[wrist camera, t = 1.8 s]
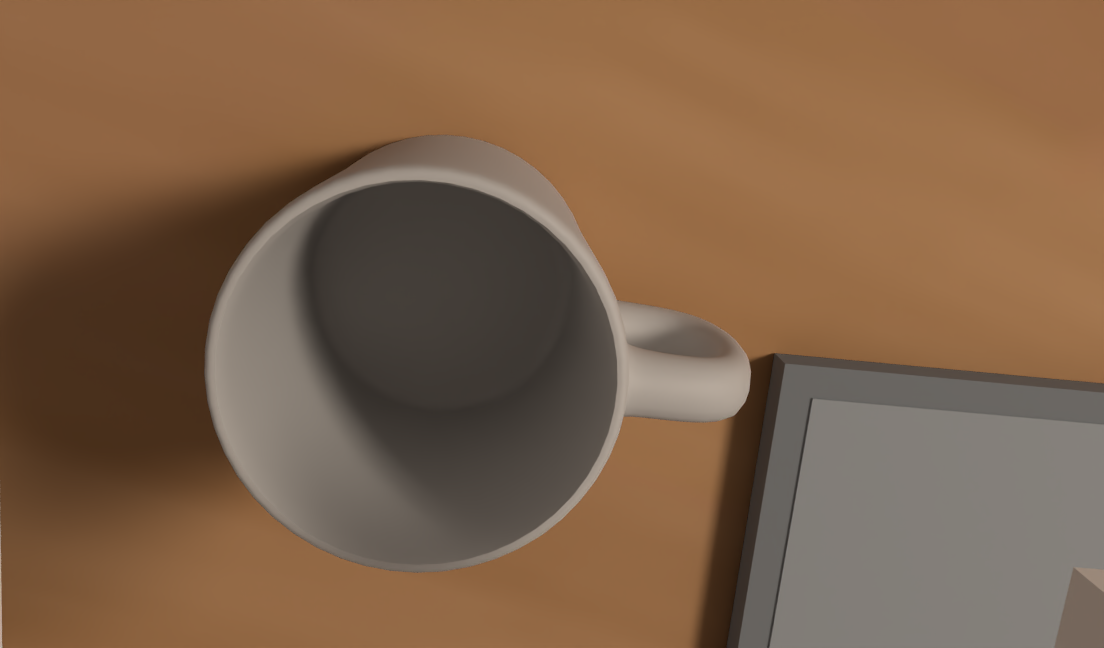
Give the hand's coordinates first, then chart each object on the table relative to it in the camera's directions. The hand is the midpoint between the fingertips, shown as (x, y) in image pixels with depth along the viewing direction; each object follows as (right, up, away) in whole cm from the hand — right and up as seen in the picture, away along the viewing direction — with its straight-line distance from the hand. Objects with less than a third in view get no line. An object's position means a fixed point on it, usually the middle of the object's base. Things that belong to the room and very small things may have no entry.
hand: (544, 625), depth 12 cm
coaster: (+13, -5, +21) cm, 25 cm away
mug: (-1, +5, +18) cm, 19 cm away
